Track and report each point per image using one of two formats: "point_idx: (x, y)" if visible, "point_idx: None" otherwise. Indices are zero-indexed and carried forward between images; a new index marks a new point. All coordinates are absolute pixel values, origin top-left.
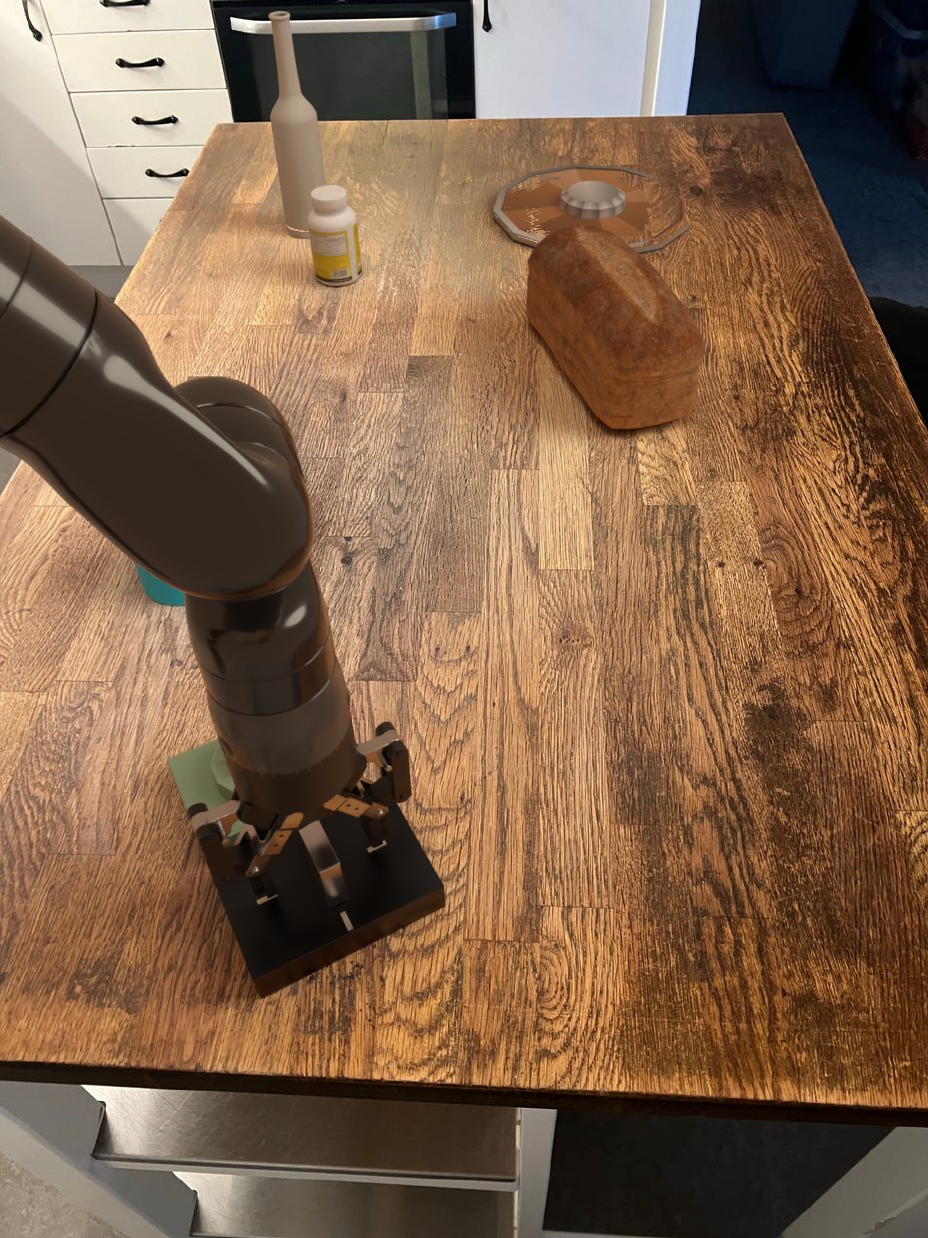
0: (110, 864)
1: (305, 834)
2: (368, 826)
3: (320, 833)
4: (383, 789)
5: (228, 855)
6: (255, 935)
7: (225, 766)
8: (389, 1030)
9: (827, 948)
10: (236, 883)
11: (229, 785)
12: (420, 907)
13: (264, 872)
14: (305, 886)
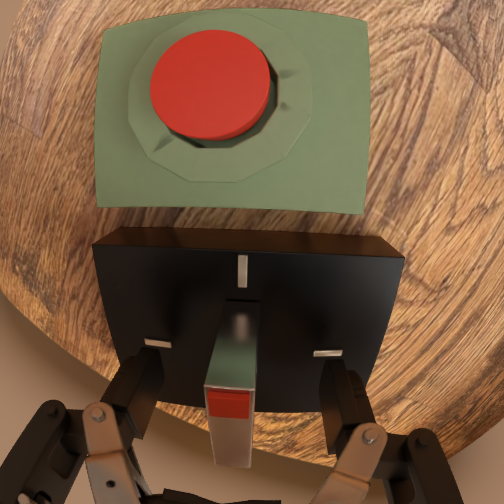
0: (36, 149)
1: (217, 431)
2: (327, 426)
3: (243, 440)
4: (383, 473)
5: (72, 443)
6: None
7: None
8: None
9: (465, 435)
10: (124, 301)
11: (145, 136)
12: None
13: (135, 437)
14: (210, 354)
